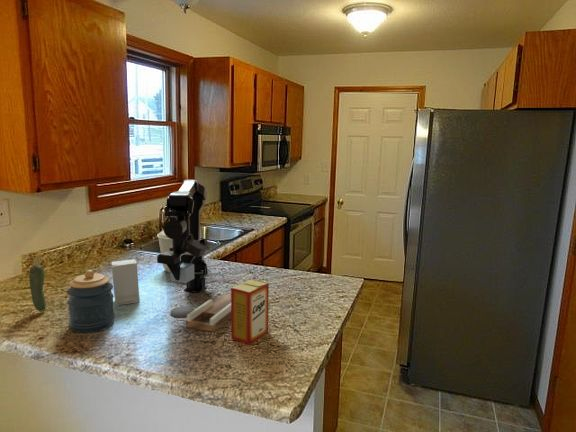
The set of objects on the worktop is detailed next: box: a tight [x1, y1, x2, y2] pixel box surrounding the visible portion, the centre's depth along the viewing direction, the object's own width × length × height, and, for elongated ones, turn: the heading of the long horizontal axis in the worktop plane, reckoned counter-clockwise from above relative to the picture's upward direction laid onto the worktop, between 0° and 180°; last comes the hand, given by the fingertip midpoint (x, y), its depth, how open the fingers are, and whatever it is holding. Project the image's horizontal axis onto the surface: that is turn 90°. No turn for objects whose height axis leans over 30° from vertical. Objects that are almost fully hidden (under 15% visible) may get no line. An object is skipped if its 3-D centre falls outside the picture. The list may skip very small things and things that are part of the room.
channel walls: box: [186, 298, 231, 326], centre depth 135 cm, size 9×14×2 cm, turn 161°
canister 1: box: [66, 269, 116, 333], centre depth 129 cm, size 13×13×18 cm
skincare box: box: [111, 258, 141, 306], centre depth 148 cm, size 8×6×15 cm
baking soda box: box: [230, 278, 270, 345], centre depth 124 cm, size 10×6×16 cm
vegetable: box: [28, 253, 47, 313], centre depth 137 cm, size 4×4×20 cm
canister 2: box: [156, 230, 174, 273], centre depth 185 cm, size 18×18×21 cm
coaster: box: [170, 306, 196, 319], centre depth 141 cm, size 8×8×1 cm
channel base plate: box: [185, 293, 231, 333], centre depth 140 cm, size 10×25×2 cm, turn 161°
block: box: [169, 263, 194, 284], centre depth 138 cm, size 5×6×5 cm
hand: (182, 277), depth 139 cm, fingers closed on block, 5 cm apart
